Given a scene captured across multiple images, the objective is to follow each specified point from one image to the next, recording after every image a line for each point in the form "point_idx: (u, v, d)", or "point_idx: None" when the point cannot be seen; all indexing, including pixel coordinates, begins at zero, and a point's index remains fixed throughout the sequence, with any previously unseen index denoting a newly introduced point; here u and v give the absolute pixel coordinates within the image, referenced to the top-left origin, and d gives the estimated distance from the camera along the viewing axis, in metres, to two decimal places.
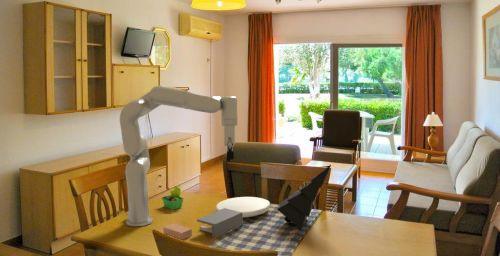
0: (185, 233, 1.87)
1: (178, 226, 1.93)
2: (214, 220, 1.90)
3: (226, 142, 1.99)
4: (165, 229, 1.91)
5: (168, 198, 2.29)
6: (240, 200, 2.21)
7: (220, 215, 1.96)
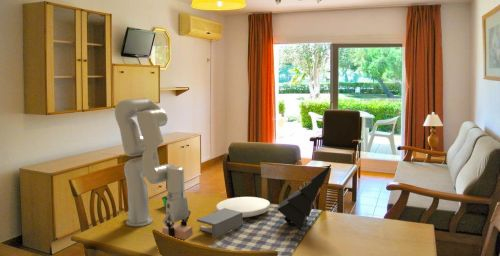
0: (187, 231, 1.88)
1: (177, 225, 1.93)
2: (214, 220, 1.90)
3: None
4: (165, 229, 1.90)
5: None
6: (240, 200, 2.21)
7: (220, 215, 1.96)
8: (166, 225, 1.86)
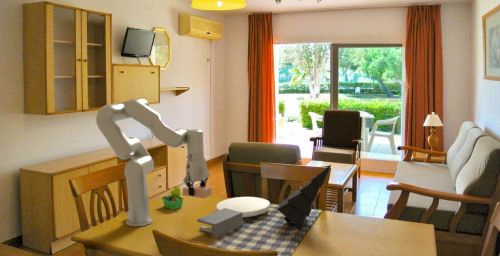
0: (206, 191, 1.96)
1: (197, 186, 2.01)
2: (214, 220, 1.90)
3: None
4: (185, 189, 1.99)
5: (168, 198, 2.29)
6: (240, 200, 2.21)
7: (220, 215, 1.96)
8: (186, 184, 1.95)
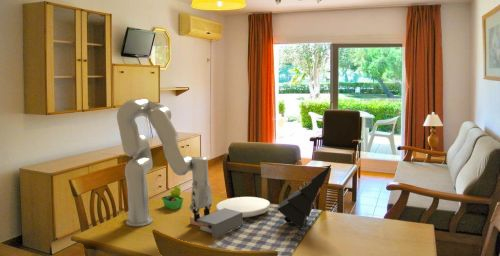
0: None
1: None
2: (214, 220, 1.90)
3: None
4: (192, 218, 2.04)
5: (168, 198, 2.29)
6: (240, 200, 2.21)
7: (220, 215, 1.96)
8: (192, 211, 1.99)
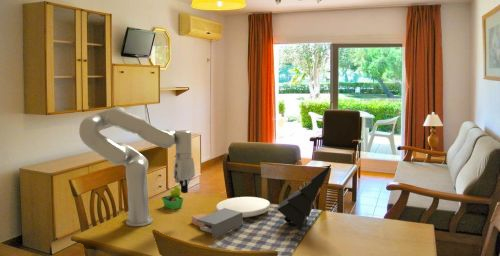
0: None
1: None
2: (214, 220, 1.90)
3: None
4: (193, 218, 2.05)
5: (168, 198, 2.29)
6: (240, 200, 2.21)
7: (220, 215, 1.96)
8: None
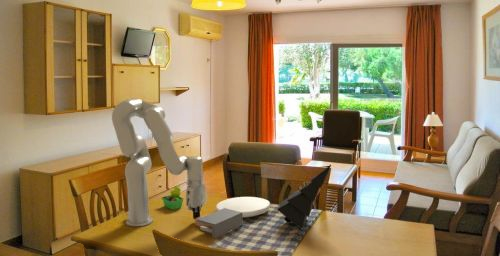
0: None
1: None
2: (214, 220, 1.90)
3: None
4: None
5: (168, 198, 2.29)
6: (240, 200, 2.21)
7: (220, 215, 1.96)
8: None
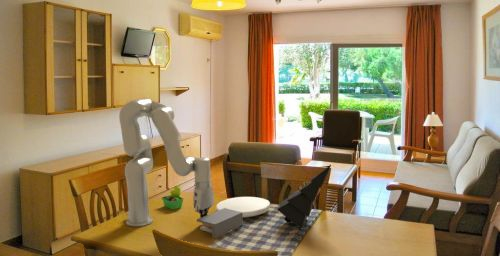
0: None
1: None
2: (214, 220, 1.90)
3: None
4: None
5: (168, 198, 2.29)
6: (240, 200, 2.21)
7: (220, 215, 1.96)
8: None
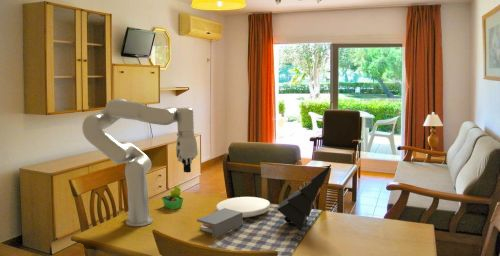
0: None
1: None
2: (214, 220, 1.90)
3: None
4: None
5: (168, 198, 2.29)
6: (240, 200, 2.21)
7: (220, 215, 1.96)
8: None
